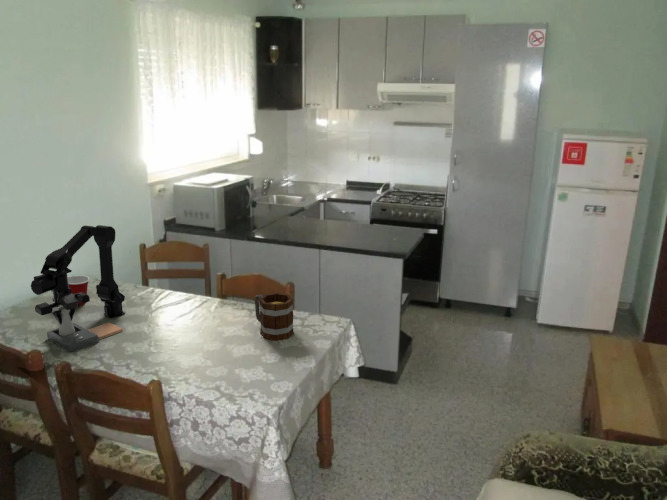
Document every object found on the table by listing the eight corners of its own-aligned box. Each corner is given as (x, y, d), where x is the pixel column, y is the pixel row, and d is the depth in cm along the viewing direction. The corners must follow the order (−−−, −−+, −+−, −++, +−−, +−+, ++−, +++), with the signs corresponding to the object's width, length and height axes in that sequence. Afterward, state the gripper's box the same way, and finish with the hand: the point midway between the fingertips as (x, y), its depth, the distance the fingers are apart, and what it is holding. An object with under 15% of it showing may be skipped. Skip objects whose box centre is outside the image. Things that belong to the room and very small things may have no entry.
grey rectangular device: (75, 329, 221) (74, 322, 220) (98, 342, 210) (97, 334, 209) (47, 339, 213) (46, 331, 212) (70, 352, 202) (69, 344, 201)
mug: (300, 333, 219) (300, 298, 215) (275, 344, 210) (274, 308, 206) (269, 319, 232) (268, 286, 228) (243, 329, 223) (242, 295, 218)
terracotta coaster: (109, 324, 226) (109, 322, 226) (122, 331, 220) (122, 328, 220) (86, 332, 219) (85, 330, 218) (99, 339, 213) (99, 337, 212)
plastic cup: (86, 308, 243) (82, 282, 239) (62, 307, 243) (58, 282, 240) (96, 299, 253) (93, 274, 250) (73, 298, 253) (70, 274, 250)
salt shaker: (69, 341, 211) (64, 310, 207) (56, 340, 212) (51, 309, 208) (79, 335, 216) (74, 304, 212) (66, 334, 217) (61, 303, 213)
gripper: (45, 298, 196) (51, 337, 200) (94, 284, 210) (99, 321, 214) (31, 291, 203) (37, 329, 207) (80, 278, 217) (84, 314, 221)
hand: (65, 323), depth 212 cm, fingers closed on salt shaker, 3 cm apart
